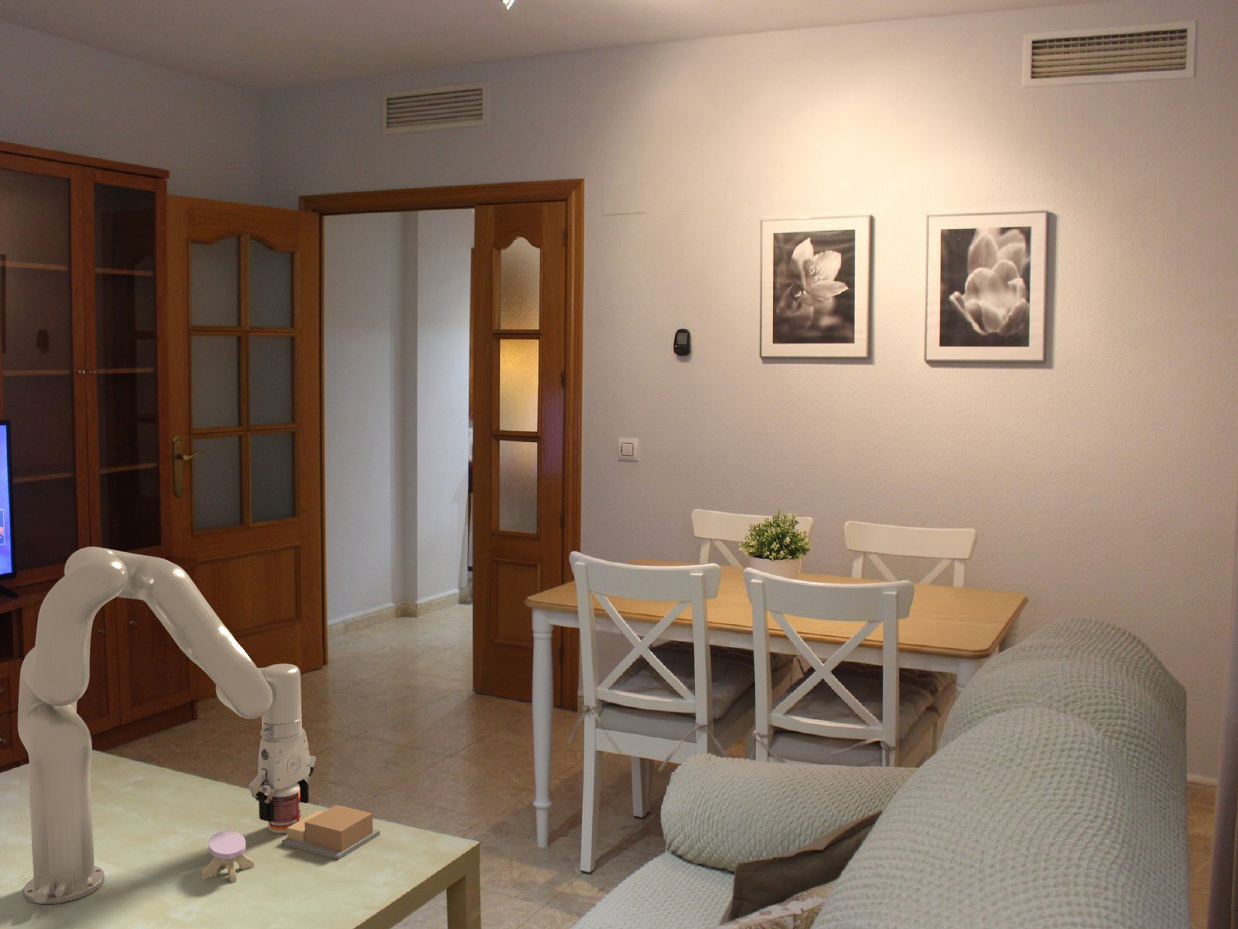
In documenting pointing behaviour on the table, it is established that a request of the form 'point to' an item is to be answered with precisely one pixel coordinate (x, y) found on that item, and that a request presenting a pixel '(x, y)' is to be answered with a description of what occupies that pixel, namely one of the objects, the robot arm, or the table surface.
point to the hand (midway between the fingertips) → (284, 811)
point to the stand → (332, 832)
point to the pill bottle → (285, 808)
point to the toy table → (227, 854)
